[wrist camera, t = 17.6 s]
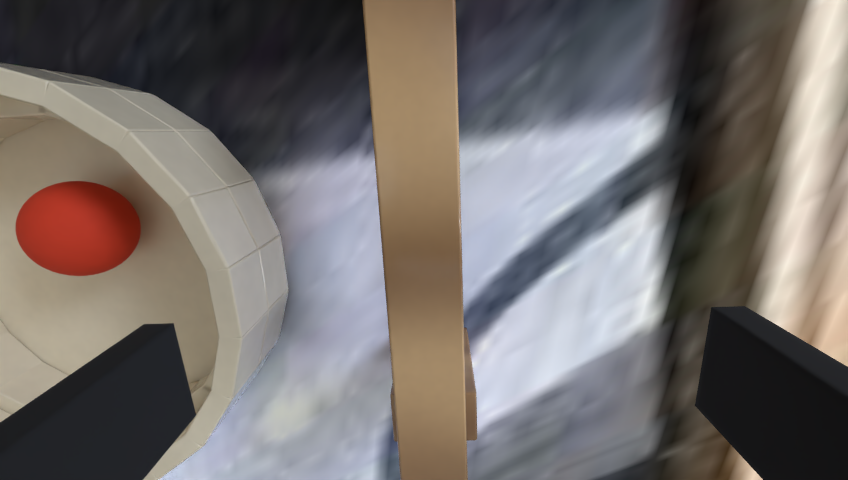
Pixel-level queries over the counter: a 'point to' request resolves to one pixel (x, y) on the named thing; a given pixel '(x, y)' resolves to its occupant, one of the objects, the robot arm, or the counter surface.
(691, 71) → the counter surface
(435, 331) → the ladle
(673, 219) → the counter surface
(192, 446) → the bowl
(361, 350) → the counter surface
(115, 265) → the tomato
